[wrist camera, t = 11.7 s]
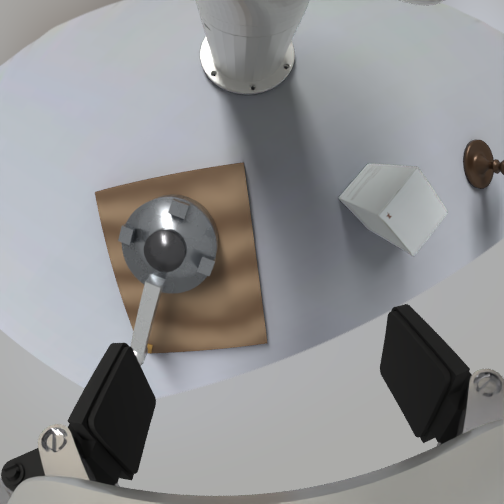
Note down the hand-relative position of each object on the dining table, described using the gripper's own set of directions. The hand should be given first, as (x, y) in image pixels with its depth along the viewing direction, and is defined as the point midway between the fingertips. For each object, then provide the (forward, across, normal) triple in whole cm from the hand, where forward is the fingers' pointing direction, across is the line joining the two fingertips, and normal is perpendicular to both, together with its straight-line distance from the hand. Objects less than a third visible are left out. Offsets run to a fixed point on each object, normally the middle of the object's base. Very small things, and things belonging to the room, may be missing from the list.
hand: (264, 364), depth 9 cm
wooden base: (+30, +10, +7) cm, 33 cm away
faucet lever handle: (+28, +13, +7) cm, 32 cm away
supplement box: (+31, -18, 0) cm, 35 cm away
